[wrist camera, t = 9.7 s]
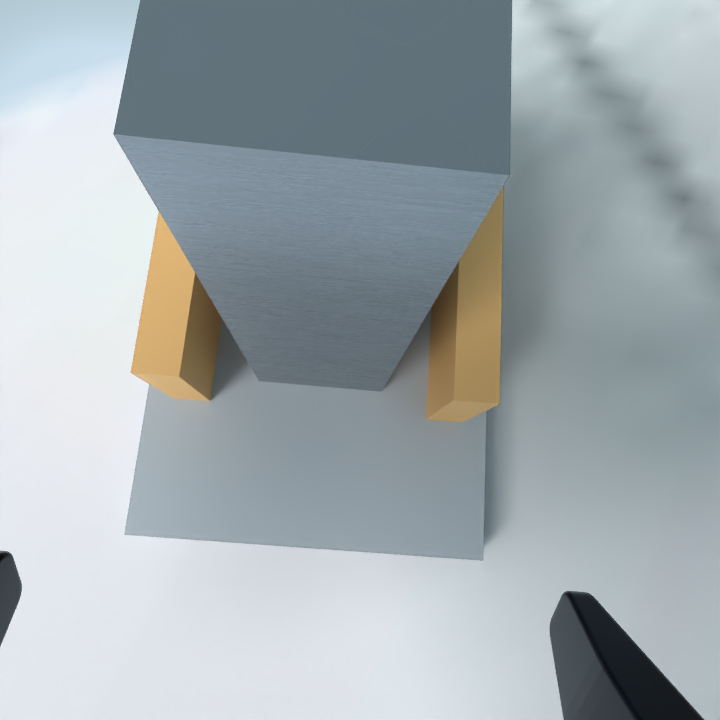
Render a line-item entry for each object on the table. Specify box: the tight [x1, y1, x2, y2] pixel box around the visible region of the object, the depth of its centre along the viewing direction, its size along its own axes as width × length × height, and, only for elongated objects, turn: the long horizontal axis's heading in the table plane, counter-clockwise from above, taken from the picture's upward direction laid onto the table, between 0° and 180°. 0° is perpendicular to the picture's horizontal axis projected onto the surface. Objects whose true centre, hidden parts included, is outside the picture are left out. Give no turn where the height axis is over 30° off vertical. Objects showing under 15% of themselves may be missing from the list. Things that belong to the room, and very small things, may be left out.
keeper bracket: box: [124, 186, 504, 560], centre depth 16 cm, size 12×11×7 cm
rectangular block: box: [114, 0, 512, 392], centre depth 12 cm, size 4×4×13 cm
